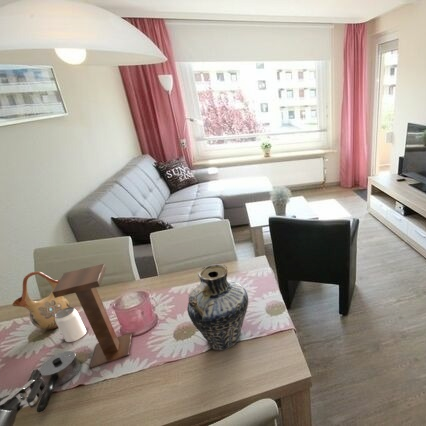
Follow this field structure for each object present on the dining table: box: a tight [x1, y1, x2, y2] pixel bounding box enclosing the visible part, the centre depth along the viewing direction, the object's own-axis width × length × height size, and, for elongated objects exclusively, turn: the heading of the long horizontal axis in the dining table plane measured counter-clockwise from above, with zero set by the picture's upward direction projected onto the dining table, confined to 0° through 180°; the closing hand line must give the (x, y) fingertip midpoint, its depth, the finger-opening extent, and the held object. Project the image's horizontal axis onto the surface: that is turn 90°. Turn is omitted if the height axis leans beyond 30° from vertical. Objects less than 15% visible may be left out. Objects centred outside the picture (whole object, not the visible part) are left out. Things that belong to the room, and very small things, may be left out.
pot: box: [36, 350, 82, 413], centre depth 89 cm, size 9×20×7 cm, turn 25°
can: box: [55, 306, 87, 343], centre depth 108 cm, size 6×6×12 cm
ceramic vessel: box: [12, 271, 72, 331], centre depth 112 cm, size 16×9×25 cm, turn 153°
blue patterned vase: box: [187, 263, 249, 351], centre depth 100 cm, size 21×19×30 cm
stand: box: [51, 263, 133, 369], centre depth 97 cm, size 11×11×32 cm
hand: (15, 378), depth 74 cm, fingers open, 8 cm apart
